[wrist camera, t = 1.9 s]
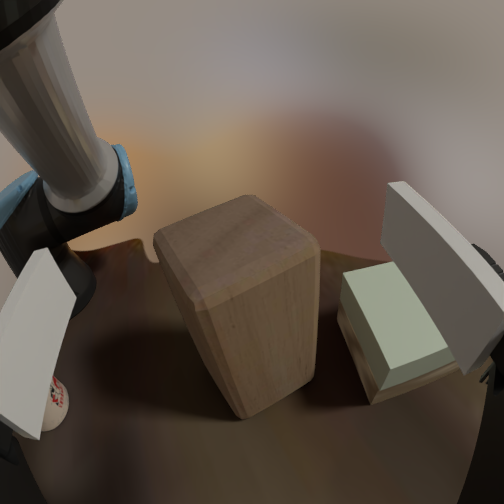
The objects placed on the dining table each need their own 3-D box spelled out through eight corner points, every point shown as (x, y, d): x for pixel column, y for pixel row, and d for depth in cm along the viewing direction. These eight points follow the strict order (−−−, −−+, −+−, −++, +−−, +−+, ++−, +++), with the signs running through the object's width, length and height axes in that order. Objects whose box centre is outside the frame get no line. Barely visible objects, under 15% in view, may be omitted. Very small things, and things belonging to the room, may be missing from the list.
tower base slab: (336, 321, 39) (339, 299, 36) (417, 299, 40) (424, 277, 37) (369, 406, 29) (378, 389, 26) (459, 370, 29) (473, 350, 27)
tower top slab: (340, 300, 36) (342, 273, 33) (425, 277, 37) (433, 251, 34) (379, 390, 26) (390, 369, 23) (474, 350, 26) (490, 326, 24)
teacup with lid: (81, 411, 31) (26, 362, 24) (38, 445, 26) (-23, 403, 19) (52, 358, 38) (10, 307, 31) (15, 388, 33) (-31, 342, 26)
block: (203, 362, 36) (146, 229, 24) (270, 326, 40) (251, 187, 27) (242, 425, 29) (188, 305, 17) (317, 380, 32) (326, 237, 20)
